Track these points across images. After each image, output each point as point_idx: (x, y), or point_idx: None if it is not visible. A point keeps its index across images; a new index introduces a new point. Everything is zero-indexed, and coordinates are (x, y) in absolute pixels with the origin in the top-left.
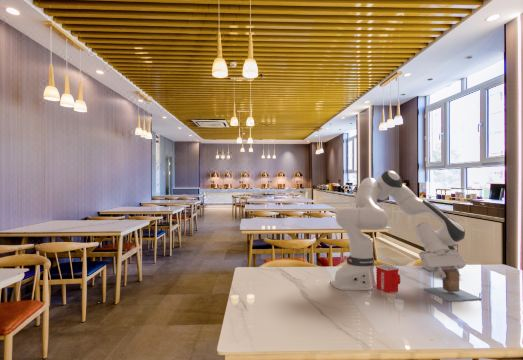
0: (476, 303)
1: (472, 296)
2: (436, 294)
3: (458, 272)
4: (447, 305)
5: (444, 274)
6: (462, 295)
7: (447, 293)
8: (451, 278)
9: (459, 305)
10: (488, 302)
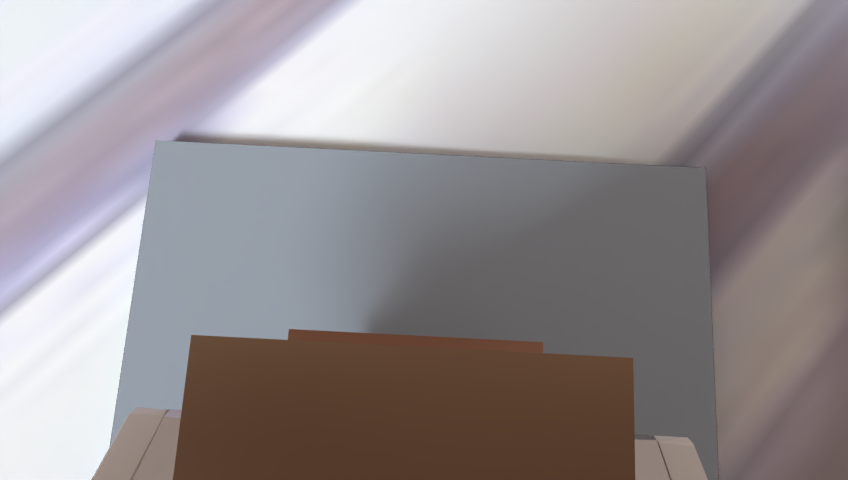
0: (354, 57)
1: (207, 231)
2: (715, 435)
3: (227, 338)
4: (800, 81)
5: (704, 476)
6: (324, 300)
7: None
8: (521, 343)
9: (639, 50)
10: (161, 52)
